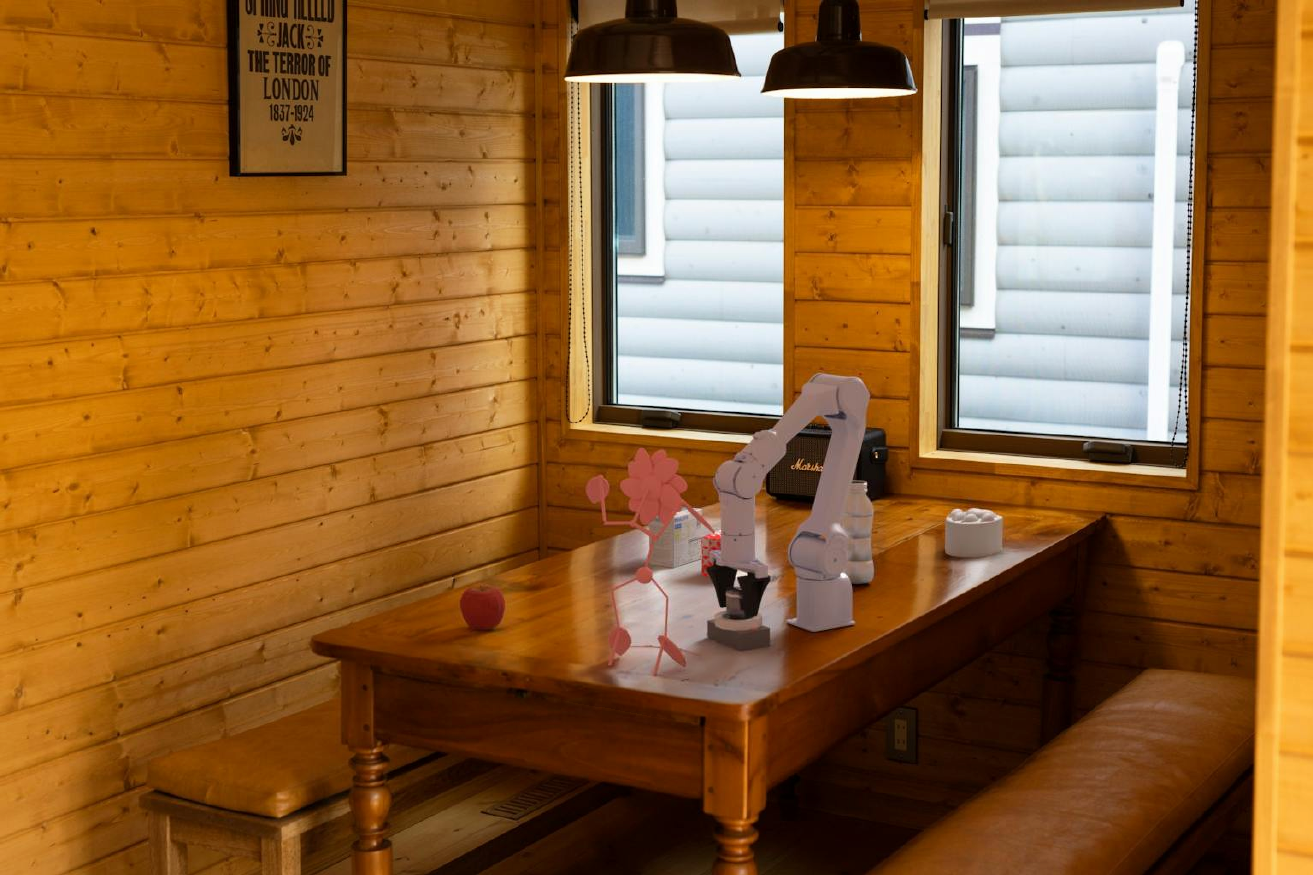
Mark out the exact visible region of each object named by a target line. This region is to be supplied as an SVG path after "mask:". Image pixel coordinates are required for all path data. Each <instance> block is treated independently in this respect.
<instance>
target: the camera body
mask: <svg viewBox="0 0 1313 875" xmlns="http://www.w3.org/2000/svg"><path fill="white" fill-rule="evenodd" d="M706 622H707V623H706V624H707V625H706V629H707V630H706V631H707V633H706V636H707V638H708V639H710V640H712V641H715V642H718V643H720V644H722V645H724V646H727V647H730V648H731V649H734V650H737V651H740V652H743V651H749V650H753V649H754V650H755V649H759V648H764V647H769V646H771V628H770V627H768V626H765V625H763V615H762V613H760V612H758V615H757V616H754V617H750V619H746V620H732V619H726V610H721V611H718V612H717V613H715V614H714V618H713V619H708V620H706Z"/></svg>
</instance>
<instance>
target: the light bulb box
mask: <svg viewBox="0 0 1313 875" xmlns="http://www.w3.org/2000/svg"><path fill="white" fill-rule="evenodd" d="M692 508H693V509H694V510H695V511H697V512H698V513H699V514H700V515H701V516H702V517H703V514H702V513H703V511H702V510H703V509H702V508H695V507H692ZM663 526H664V524H663V523H662V522H660V519H659V517H658V515H657V516H656V518H655V519H654V520H653V521H652V522H651V523H649V524H648V530H649V531H651V532H652V533H654V534H656V535H657V534H658V533H659V531H660V530H661V528H662V527H663ZM701 537H703V524H702V523H701V522H699V521H698V520H697V519H696V518H695V517H694V516H693V515H692V514H691V513H690V512H689V511H688V510H687V509H686V508H685V506H683V507H682V510H681V511H680V512H677V513H676V514H675V516H674V517H673V519H672V520H671V522H670V523H669V524H668V526H667V527H666V529H665V530H664V532H663V533H662V534H661V536H660V537H659V539H656V538H655V541H654V545H653V548H652V552H651V555H650V559H649V562H648V565H652V566H656V567H657V566H658V567H664V568H670V569H674V568H677V567H680V566H682V565H683V566H684V565H687V564H690V563H692V562H695V561H698V560H701ZM651 539H652V538H651V537H650V536H648V547H649V548H650V543H651ZM649 548H648V549H649Z"/></svg>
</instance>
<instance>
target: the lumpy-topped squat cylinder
mask: <svg viewBox="0 0 1313 875" xmlns="http://www.w3.org/2000/svg"><path fill="white" fill-rule="evenodd" d="M944 538H945V539H944V540H945V541H944V544H945V545H944V547H945V548H944V549H945V551H944V553H945V554H947V555H949V556H951V557H956V558H957V557H959V558H979V557H988V556H991V555H995V554H998V553H1001V552H1002V550H1003V517H1002V516H1001V515H998V514H996V513H995V512H994V511H991V510H989V509H980V508H974V507H973V508H969V509H968V510H967V511H964V512H963V510H962V509H960V508H955V509H953V510H952V511H951V512H950V514H949V515H948V516H946V518H945V537H944Z"/></svg>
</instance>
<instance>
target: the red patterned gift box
mask: <svg viewBox="0 0 1313 875" xmlns="http://www.w3.org/2000/svg"><path fill="white" fill-rule="evenodd" d="M715 550H721V529H719V530H717V531H715V532H714V533H713V532H711V533H709V534H706V535H702V537H701V559H700V561H701V567H700V568H701V569H700V570H701V577H710V576H709V574H708V573H707V571H706V567H709V566H713V564H714V563H711V562H710V553H709V552H710V551H715ZM745 575H747V573H746V572H743V571H740V570H738V571H737V574H736V578H735V581H736V580H737V577H739V576H745ZM737 581H738V580H737Z"/></svg>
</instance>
